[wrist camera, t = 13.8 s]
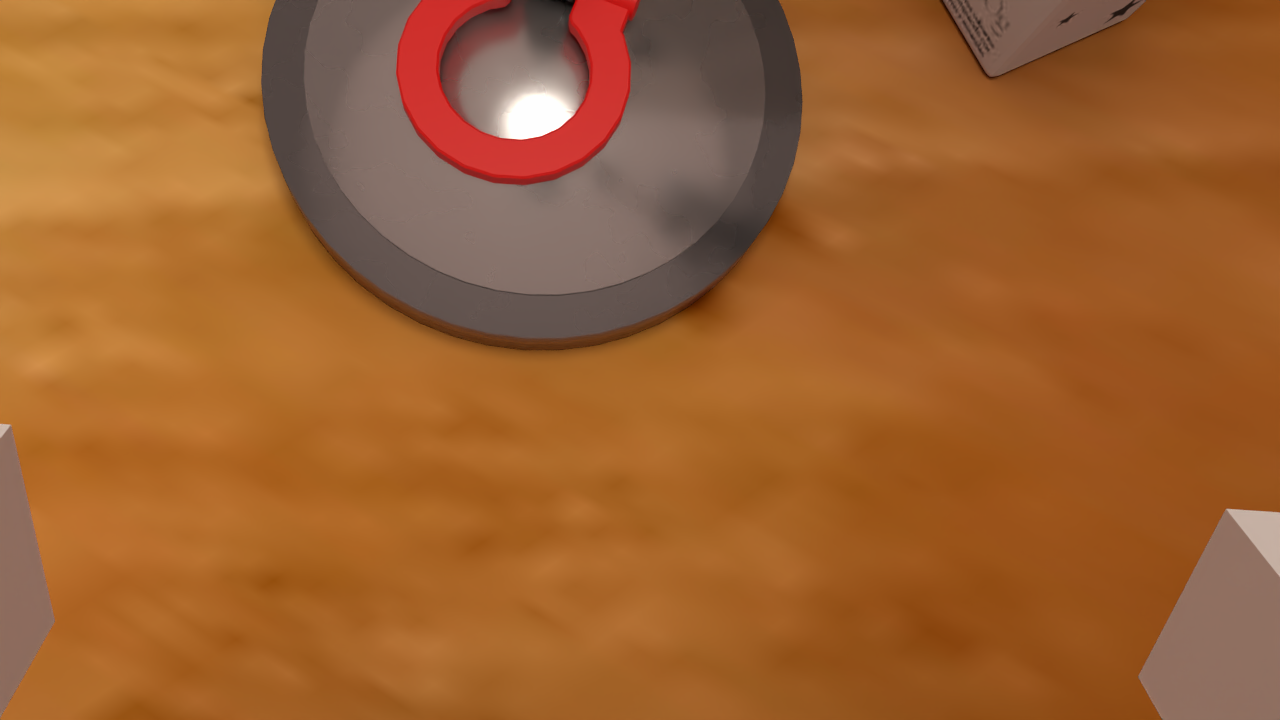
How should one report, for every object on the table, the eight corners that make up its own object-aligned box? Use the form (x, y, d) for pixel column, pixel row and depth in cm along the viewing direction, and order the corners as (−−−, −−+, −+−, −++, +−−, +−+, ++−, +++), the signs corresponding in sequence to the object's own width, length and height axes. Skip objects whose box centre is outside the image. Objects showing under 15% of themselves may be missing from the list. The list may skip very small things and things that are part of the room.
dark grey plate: (883, 91, 44) (903, 65, 42) (568, 461, 39) (573, 452, 37) (512, -211, 45) (514, -252, 43) (155, 111, 40) (137, 83, 38)
